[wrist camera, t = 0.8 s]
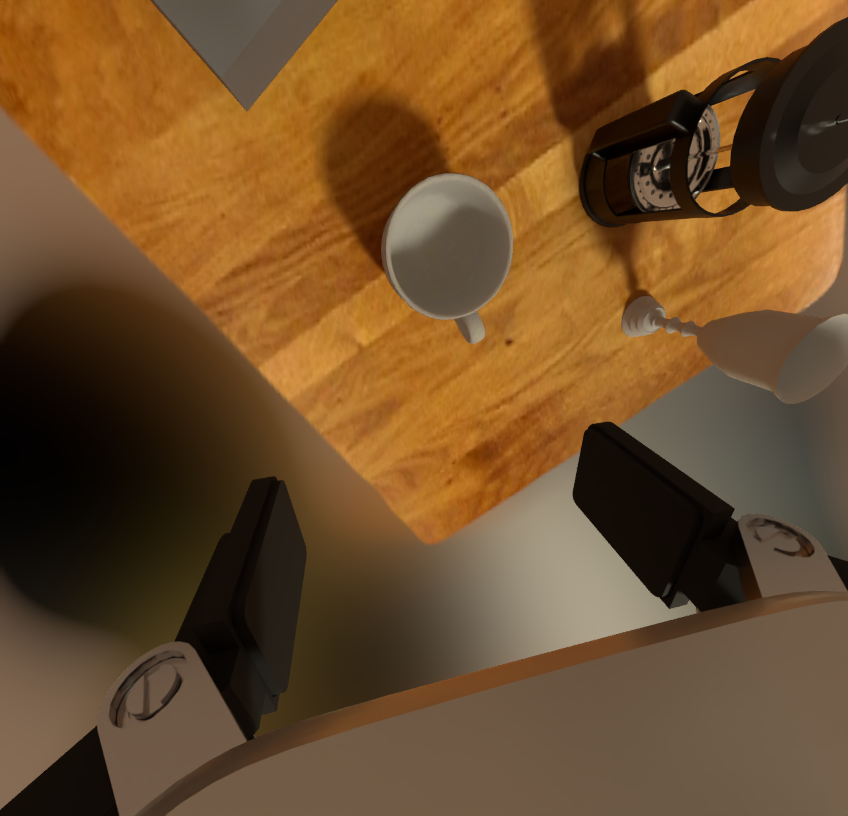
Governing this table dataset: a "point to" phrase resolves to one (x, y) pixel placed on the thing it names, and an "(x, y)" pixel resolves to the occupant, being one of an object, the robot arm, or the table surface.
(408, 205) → the teacup
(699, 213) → the french press
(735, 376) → the chalice
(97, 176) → the table surface
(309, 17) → the key console
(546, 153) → the table surface
